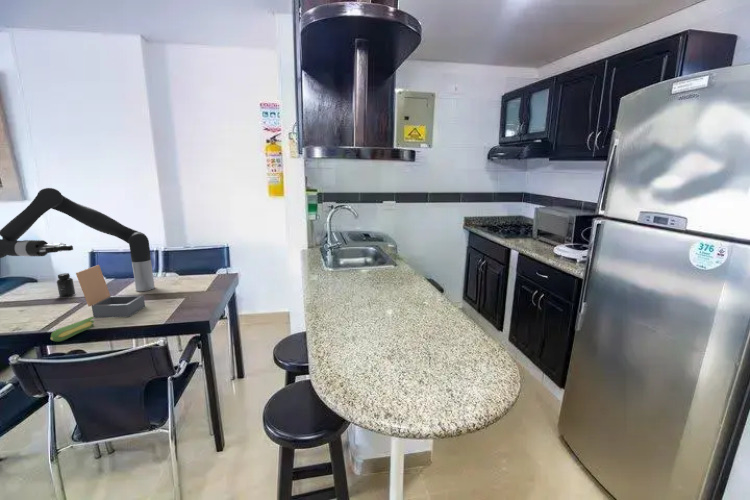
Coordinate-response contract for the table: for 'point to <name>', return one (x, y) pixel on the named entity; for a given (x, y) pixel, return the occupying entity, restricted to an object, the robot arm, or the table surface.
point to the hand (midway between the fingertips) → (71, 248)
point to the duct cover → (93, 285)
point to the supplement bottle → (65, 285)
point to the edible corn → (71, 330)
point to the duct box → (118, 306)
